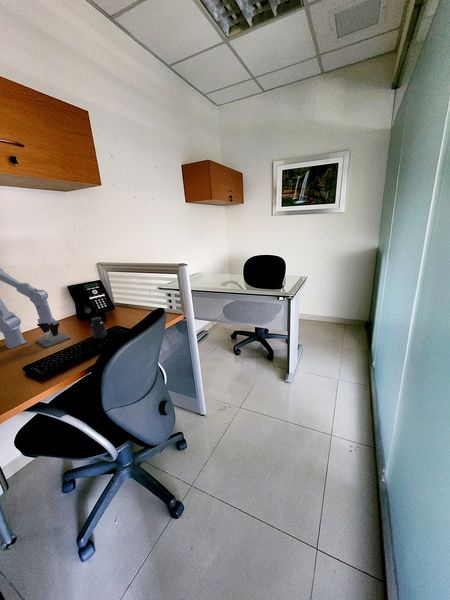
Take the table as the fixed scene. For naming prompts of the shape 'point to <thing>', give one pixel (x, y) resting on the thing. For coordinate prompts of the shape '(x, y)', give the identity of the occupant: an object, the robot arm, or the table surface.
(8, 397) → the table surface
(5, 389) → the table surface
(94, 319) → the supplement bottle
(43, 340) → the junction plate
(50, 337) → the collar
